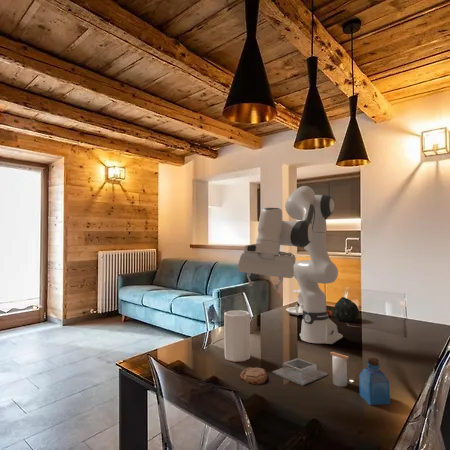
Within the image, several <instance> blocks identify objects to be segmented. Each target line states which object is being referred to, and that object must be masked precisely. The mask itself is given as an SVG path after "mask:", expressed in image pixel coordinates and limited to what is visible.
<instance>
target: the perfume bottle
mask: <svg viewBox="0 0 450 450" xmlns="http://www.w3.org/2000/svg"><path fill="white" fill-rule="evenodd" d="M379 361H380V360H379V359H378V358H375V357H368V358H367V362H366V363H367V368H366V367H365V368H363V369H362V370H361V372H360V374H359V376H358V378H359V379H358V381H359V382H358V384H359V396H360V397H361V398H362V399H363V400H364V401H365V402H366V403H367V404H368V405H369V406H377V405H378V406H380V405H381V406H382V405H390V404H391V392H390V381H389V380H388V378H387V377H386V375H385V373H384V372H383V371H382V370H380V363H379Z"/></svg>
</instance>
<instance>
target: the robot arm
mask: <svg viewBox="0 0 450 450" xmlns="http://www.w3.org/2000/svg"><path fill="white" fill-rule="evenodd" d="M284 208H285V212H286V214H287V215H288V216H289V217H290V218H291V219H294V220H283V211H282V209H281V208H279V207H265V208H262V209H261V212H260V214H259V219H258V225H257V232H258V233H257V234H258V235H257V238H256V243H251V244H247V245H244V246H243V252H242V253H241V255H240V256H239V260H238V264H237V271H238V272H240V273H245V274H246V278H247V279H248V287H253V285H254V284H253V283H254V281H252V280H251V278H250V277H251V274H253V275H263V276H269V277H278V283H277V284H274V290H277V291H278V290H279V291H280V285H281V284H282V282H284V278H286V279H292V278H294V279H295V280H296V281H297V284H298V283H299V285H300V287H301V290H302V294H303V312H302V314H303V316H302V320H301V329H300V333H299V337H300V339H301V341H304V342H306V343H310V344H311V343H312V344H327V345H328V344H329V345H333V344H334V343H336V342H337V341H339V340H341V339H342V338H344V336H343V334H341V333H339V331H338V326H337V324H336V323H335V322H334V321H332V320H331V319H330V317H329V316H332V314H333V313H332V310H327V296H326V294H325V292H324V291H323V290H322V289H321V288H320V286H319V284H325V285H326V284H332V283H334V282H336V280H337V279H338V276H339V270H338V268H337V267H338V266H336V264H335V263H334V262H333V261H332V260H331V258H330V255H329V254H328V248H327V232H328V231H327V221H326V220H327V219H328V218H329V217H331V216H332V214H333V212H334V209H335V202H334V199H333V197H332V196H331V195H329V194H315V191H314V189H313V188H311V187H310V186H307V185H302V186H300V187H297V188H296V189H295V190H294V191H292V193H290V195H289V196H288V198H287V199H286V201H285V205H284ZM281 246H285V247H286V246H287V247H295V248H296V247H298V248H304V250H305V251H306V252H307V253H308V255H309V257H310V259H303V260H297V261H296V259H297V258H296V256H295V255H294V254H293V253H292V252H286V251H281ZM299 285H298V286H299Z"/></svg>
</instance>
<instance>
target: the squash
mask: <svg viewBox="0 0 450 450" xmlns="http://www.w3.org/2000/svg"><path fill="white" fill-rule="evenodd" d="M333 314H334V316H335V318H336V319H337V320H338V321H341V320H342V322H346V321H347V322H348V321H349V322H355V321H356V320H357V319H358V316H359V314H360V311H359V307H358V305H357V304H356V303H355V302H354V301H353V300H351V299H349V298H347V297H344V296H341V297H340V298H339V300H337V301H336V303H335V304H334V306H333Z"/></svg>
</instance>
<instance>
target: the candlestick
mask: <svg viewBox="0 0 450 450" xmlns="http://www.w3.org/2000/svg"><path fill="white" fill-rule="evenodd" d="M297 286H298V289H294V290H292V292H294V293H297V294H298V296H297V298H296V302H297V304H295V306H292V307H291V306H290V307H287V308H286V309H285V311H287V312H288V313H290V315H291V314H292V315H295V316H299V315H303V314H302V312H303V294H302V290H301V287H300V285H299V283H298V282H297ZM298 304H299V305H298Z"/></svg>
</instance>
